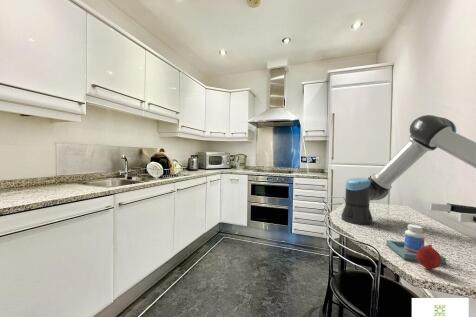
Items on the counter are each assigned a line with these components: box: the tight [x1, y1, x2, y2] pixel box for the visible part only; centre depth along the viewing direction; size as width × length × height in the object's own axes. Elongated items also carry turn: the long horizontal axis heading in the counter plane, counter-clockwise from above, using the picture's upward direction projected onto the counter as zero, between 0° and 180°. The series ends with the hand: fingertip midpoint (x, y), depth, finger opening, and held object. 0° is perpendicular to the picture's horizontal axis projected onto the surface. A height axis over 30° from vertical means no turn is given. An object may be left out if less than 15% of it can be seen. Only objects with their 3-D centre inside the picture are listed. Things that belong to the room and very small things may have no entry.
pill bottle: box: [404, 223, 425, 254], centre depth 75 cm, size 6×5×10 cm
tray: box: [386, 239, 447, 266], centre depth 75 cm, size 12×12×2 cm
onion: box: [416, 243, 442, 271], centre depth 64 cm, size 6×6×8 cm
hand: (443, 211), depth 74 cm, fingers open, 13 cm apart
